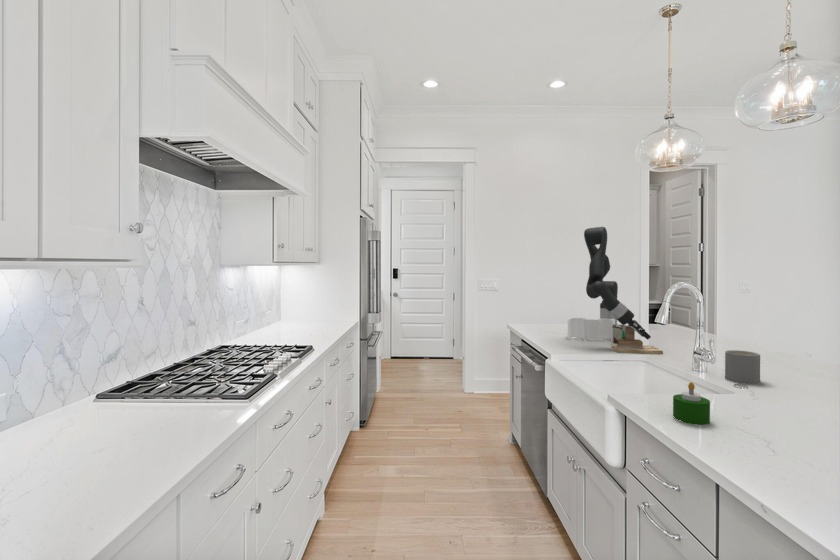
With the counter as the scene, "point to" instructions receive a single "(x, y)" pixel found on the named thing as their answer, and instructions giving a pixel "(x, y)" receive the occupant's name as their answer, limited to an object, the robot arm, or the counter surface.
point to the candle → (691, 407)
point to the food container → (618, 332)
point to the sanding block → (630, 340)
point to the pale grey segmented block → (590, 328)
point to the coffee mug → (742, 366)
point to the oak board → (638, 350)
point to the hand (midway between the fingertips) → (646, 336)
